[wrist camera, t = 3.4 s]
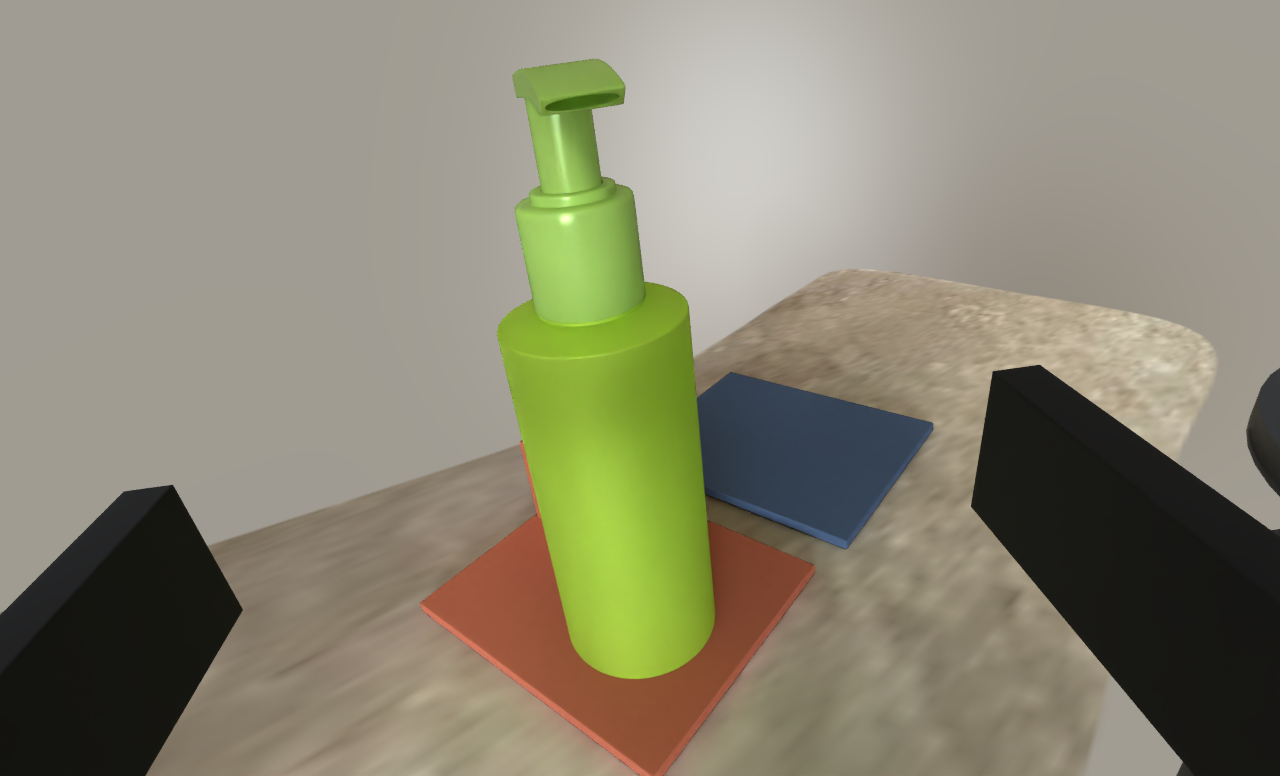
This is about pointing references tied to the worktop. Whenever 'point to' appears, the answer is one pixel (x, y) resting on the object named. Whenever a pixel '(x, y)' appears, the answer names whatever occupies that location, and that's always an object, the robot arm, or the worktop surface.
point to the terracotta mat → (591, 700)
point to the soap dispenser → (606, 397)
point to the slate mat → (802, 454)
